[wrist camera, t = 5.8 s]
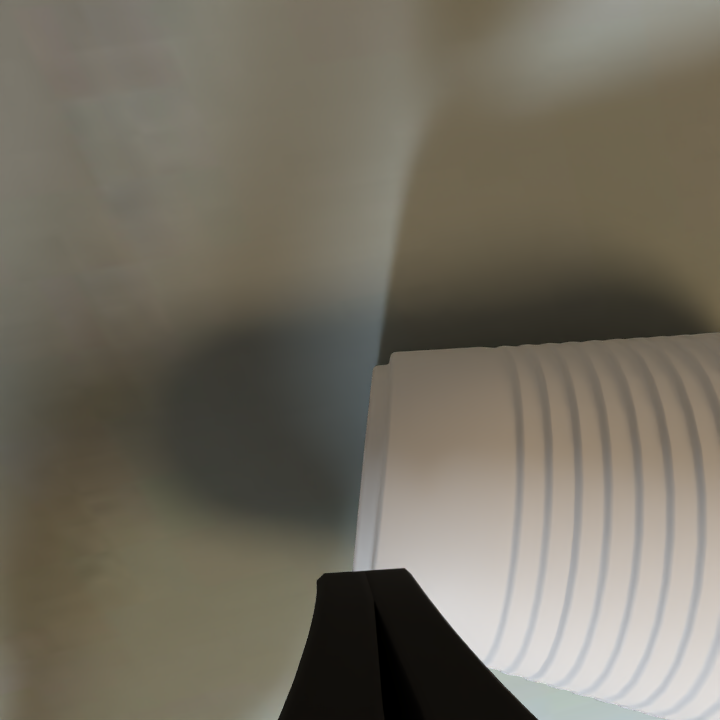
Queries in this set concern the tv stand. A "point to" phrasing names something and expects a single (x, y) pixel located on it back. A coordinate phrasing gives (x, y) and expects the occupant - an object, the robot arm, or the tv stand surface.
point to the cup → (559, 509)
